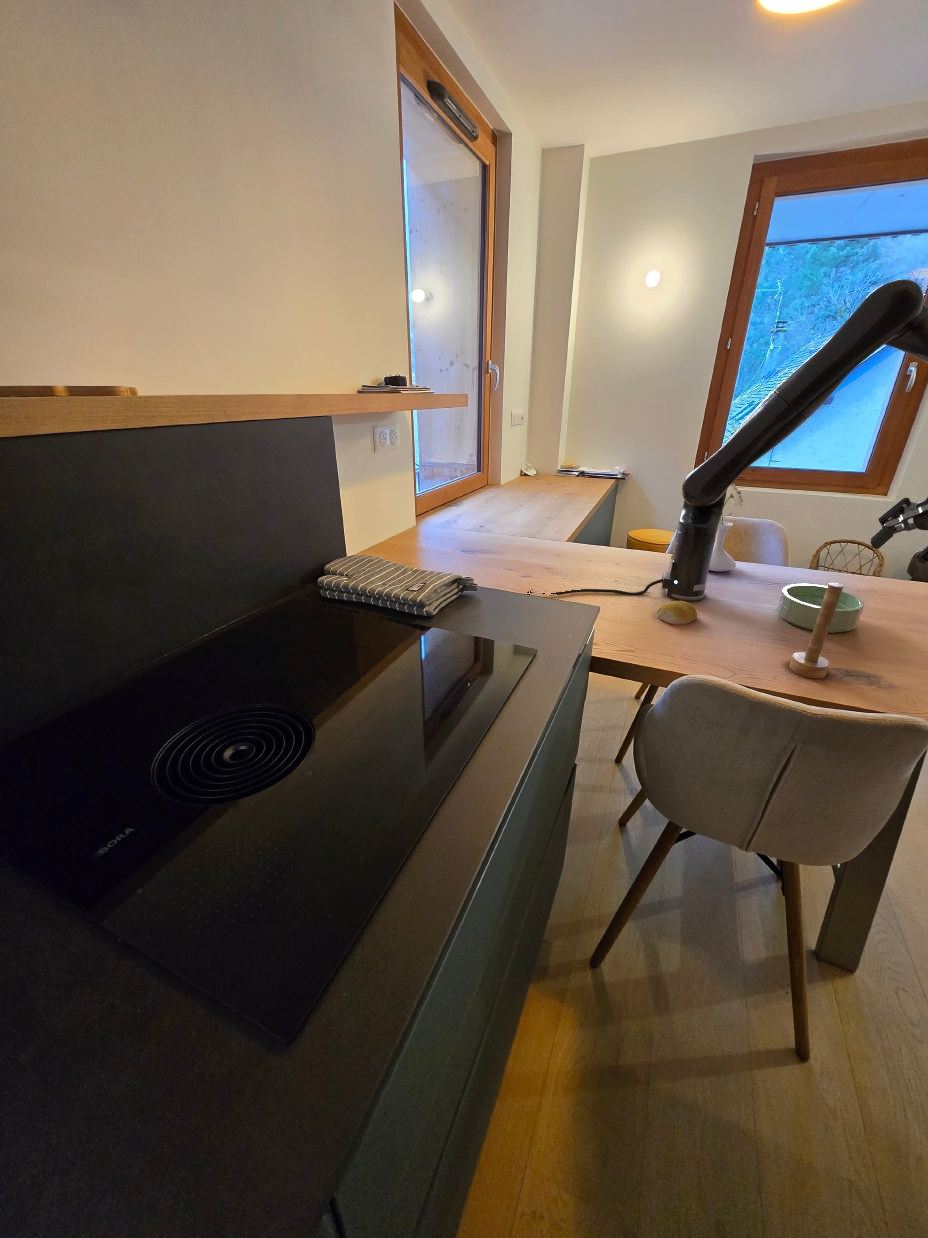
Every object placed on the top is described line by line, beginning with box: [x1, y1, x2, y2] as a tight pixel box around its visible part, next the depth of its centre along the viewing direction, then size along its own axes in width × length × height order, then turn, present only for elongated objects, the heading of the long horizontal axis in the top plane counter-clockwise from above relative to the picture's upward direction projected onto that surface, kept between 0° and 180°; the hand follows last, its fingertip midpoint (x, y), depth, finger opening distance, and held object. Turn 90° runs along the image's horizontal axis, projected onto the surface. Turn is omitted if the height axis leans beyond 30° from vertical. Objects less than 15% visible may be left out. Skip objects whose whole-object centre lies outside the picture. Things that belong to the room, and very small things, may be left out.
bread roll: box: [655, 600, 698, 625], centre depth 117 cm, size 8×9×4 cm
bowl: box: [776, 583, 865, 634], centre depth 115 cm, size 16×16×6 cm
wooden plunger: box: [789, 582, 844, 679], centre depth 92 cm, size 6×6×18 cm
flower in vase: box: [709, 483, 744, 572], centre depth 144 cm, size 13×11×25 cm
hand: (895, 552), depth 88 cm, fingers open, 8 cm apart
